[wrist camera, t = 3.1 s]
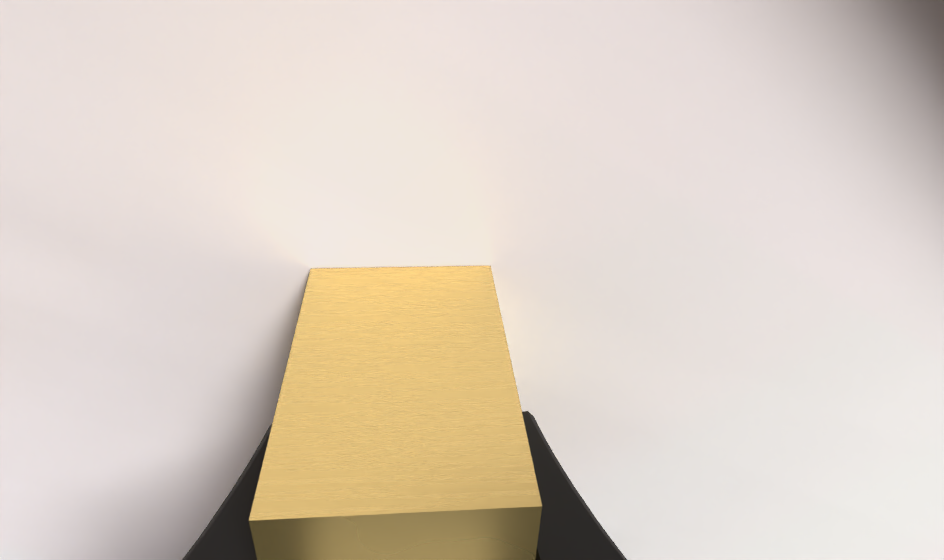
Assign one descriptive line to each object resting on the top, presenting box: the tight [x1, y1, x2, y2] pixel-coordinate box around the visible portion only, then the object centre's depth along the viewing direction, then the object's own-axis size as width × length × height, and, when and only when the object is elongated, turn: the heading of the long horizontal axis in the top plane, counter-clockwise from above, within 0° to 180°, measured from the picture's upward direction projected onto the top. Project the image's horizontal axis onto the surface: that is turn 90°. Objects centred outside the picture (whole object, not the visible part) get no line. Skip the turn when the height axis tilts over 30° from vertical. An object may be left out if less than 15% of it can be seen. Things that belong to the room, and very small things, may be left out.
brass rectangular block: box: [249, 266, 542, 560], centre depth 10 cm, size 6×3×5 cm, turn 178°
